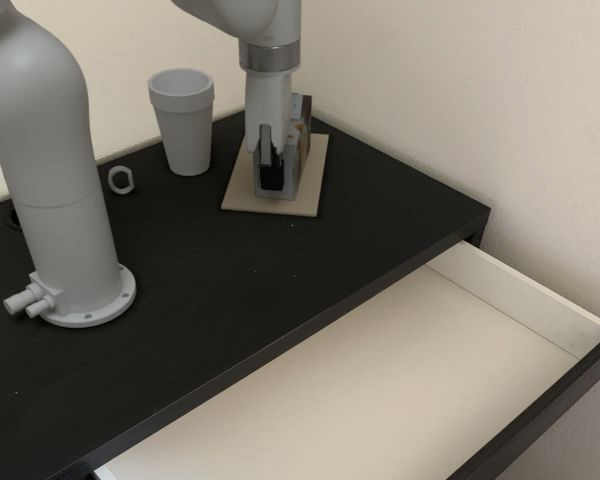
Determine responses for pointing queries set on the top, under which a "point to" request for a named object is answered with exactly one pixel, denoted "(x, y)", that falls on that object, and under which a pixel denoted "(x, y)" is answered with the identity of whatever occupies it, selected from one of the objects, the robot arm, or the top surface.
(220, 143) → the top surface
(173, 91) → the foam cup
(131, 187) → the grey ring
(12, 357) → the top surface
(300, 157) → the coffee box
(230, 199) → the mat
